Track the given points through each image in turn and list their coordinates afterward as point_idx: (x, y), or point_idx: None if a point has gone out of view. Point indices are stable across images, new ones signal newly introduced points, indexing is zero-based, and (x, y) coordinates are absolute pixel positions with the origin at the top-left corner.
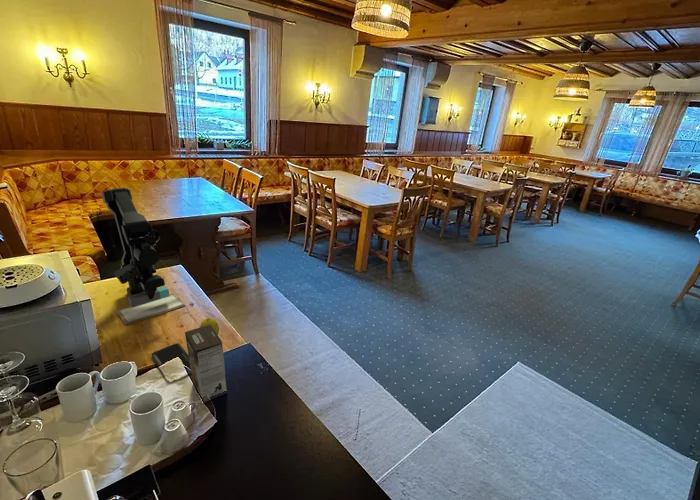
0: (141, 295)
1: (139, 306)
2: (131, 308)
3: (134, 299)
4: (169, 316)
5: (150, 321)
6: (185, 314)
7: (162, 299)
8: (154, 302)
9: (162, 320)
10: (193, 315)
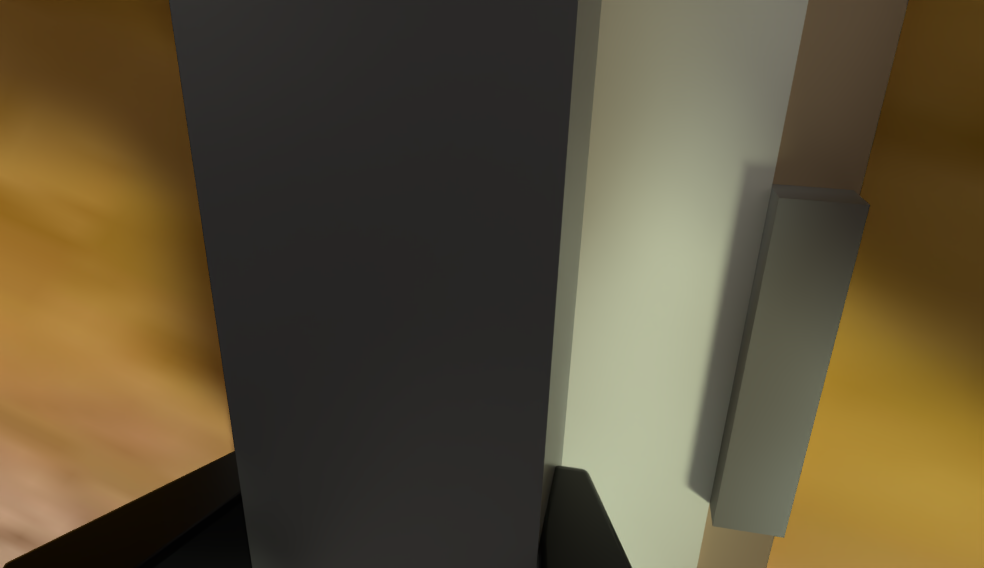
0: (307, 369)
1: (685, 184)
2: (738, 15)
3: (198, 76)
4: (110, 377)
5: (96, 126)
6: (66, 516)
7: (630, 560)
8: (625, 438)
9: (45, 266)
10: (3, 551)
